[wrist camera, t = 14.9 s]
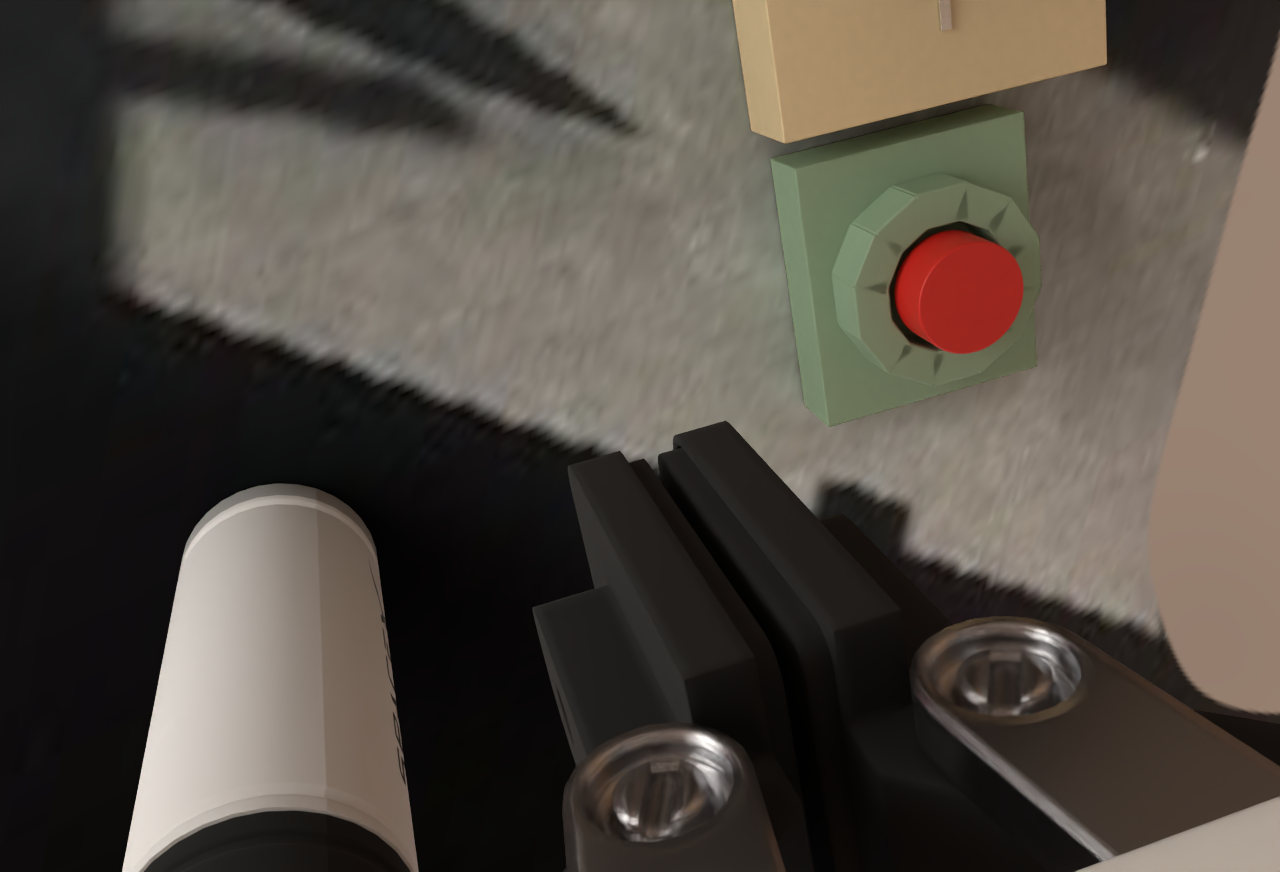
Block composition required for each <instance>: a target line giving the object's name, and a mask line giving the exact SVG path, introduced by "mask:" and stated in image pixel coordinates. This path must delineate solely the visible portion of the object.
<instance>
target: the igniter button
mask: <svg viewBox="0 0 1280 872" xmlns="http://www.w3.org/2000/svg"><path fill="white" fill-rule="evenodd" d="M1023 292H1024V284H1023V277H1022V273H1021V270H1020V267H1019V265H1018V263H1017V261H1016V259H1015V258H1014V257H1013V256H1012V254H1011V253H1010V252H1009V251H1008V250H1006V249H1005V248H1003V247H1002V246H1000V245H998V244H996V243H993V242H991V241H988V240H986V239H984V238H981V237H979V236H976V235H974V234H971V233H969V232H966V231H962V230H947V231H942V232H939V233H936V234H933V235H931V236H929V237H927V238H926V239H924V240H923V241H921V242H920V243H919V244H918V245H916V246H915V247H914V248H913V249H912V250H911V251H910V253H909V254H908V255H907V257H906V258H905V260H904V261H903V263H902V265H901V267H900V269H899V272H898V275H897V278H896V282H895V290H894V297H895V305H896V309H897V312H898V314H899V316H900V318H901V320H902V322H903V323H904V324H905V325H906V327H907V328H908V329H910V330H911V331H912V332H913V333H915V334H917V335H918V336H920V337H921V338H923V339H925V340H926V341H928V342H930V343H931V344H933V345H934V346H936V347H938V348H940V349H941V350H943V351H946V352H949V353H954V354H968V353H973V352H977V351H980V350H983V349H985V348H987V347H989V346H990V345H992V344H993V343H995V342H996V341H997V340H999V339H1000V338H1001V337H1002V336H1003V335H1004V334H1005V333H1006V332H1007V330H1008V329H1009V328H1010V327H1011V325H1012V324H1013V322H1014V320H1015V319H1016V317H1017V315H1018V312H1019V310H1020V307H1021V303H1022V299H1023Z"/></svg>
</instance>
